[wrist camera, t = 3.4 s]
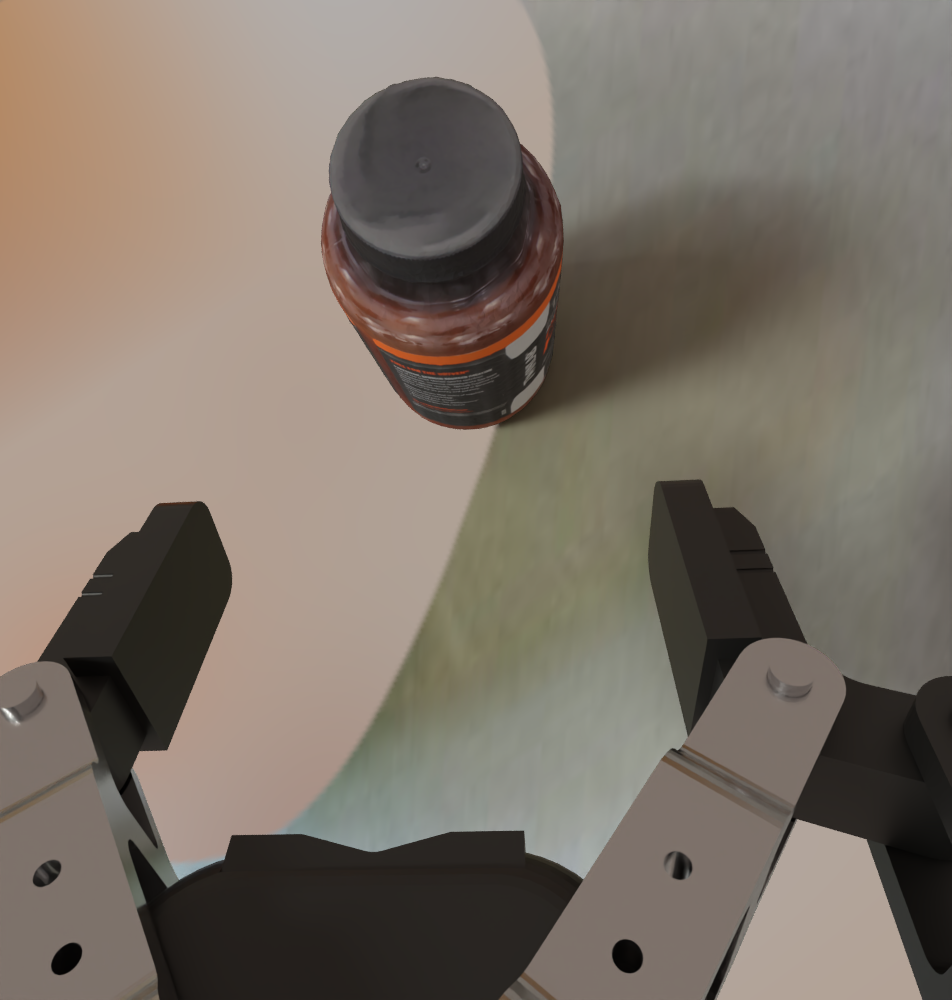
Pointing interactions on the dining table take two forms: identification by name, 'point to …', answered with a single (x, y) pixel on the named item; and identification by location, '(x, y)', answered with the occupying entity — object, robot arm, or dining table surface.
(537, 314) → the supplement bottle
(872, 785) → the robot arm
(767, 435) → the dining table surface
